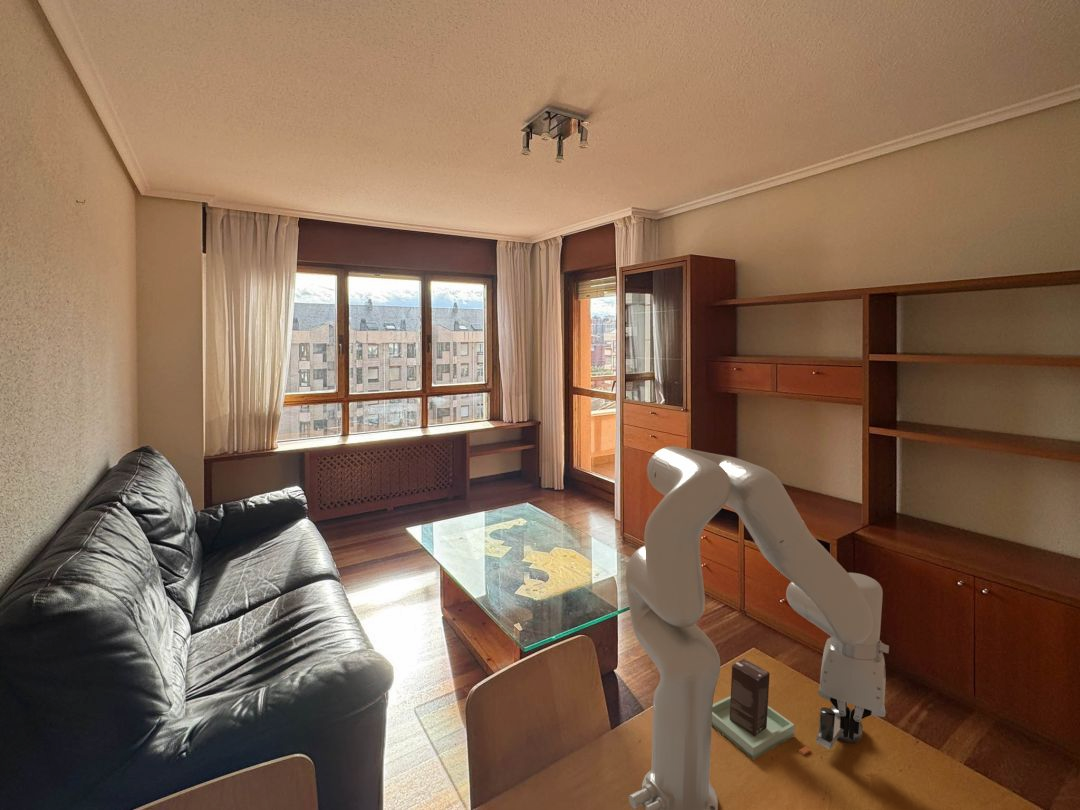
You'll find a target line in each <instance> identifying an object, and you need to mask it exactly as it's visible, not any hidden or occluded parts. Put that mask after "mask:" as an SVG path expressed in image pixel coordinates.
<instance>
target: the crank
mask: <svg viewBox="0 0 1080 810" xmlns="http://www.w3.org/2000/svg"><path fill="white" fill-rule="evenodd" d="M847 707H848V706H847ZM829 708H831V709H829ZM848 708H849V710H850V716H851V711H852V710H853V709H851V708H850V707H848ZM849 726H850V724H849ZM843 730H844V729H841V728H840V715H839V712H838V710H837V709H836V708H835V706H834V705H833V704H832V705H831V707H825V706H824V707H821V708H820V712H819V726H818V732H817V733H818V734H817V735H816V740H815V741H816V744H818V745H820V746H821V747H824V748H826V749H828V750H829V751H830V750H831V749H832V747H833V746H834V745H835V743H836V742H837V740H838V737H839V736H840V735H841V733H842V732H843Z"/></svg>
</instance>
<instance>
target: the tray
mask: <svg viewBox="0 0 1080 810" xmlns="http://www.w3.org/2000/svg"><path fill="white" fill-rule="evenodd" d="M730 700H731V695H729V696H727V697H725V698H723V699H720V700H719V701H717V702H715V703H714V702H713V707H712V727H713V728H714V729H716V731H717V732H718V733H720V734H721V735H723V736H724V737H725V738H726V739H727V740H729V741H730V742H731V743H732V744H733V745H734V746H735V747H737V748H738V750H740V751H741V752H743V753H744V754H745V755H746V756H748V757H749V759H751V760H752V761H754V760H755V759H757V758H758V757H761V756H762V755H764V754H766V753H767V752H770V751H771V750H773V749H774V748H776V747H778V746H779V745H781V744H782V743H783V744H784V742H786V741H788V740H790V739H792V738H793V737H794V736H795V724H794V723H793V722H792V721H790V720H789V719H788V718H786V717H785V716H783V715H782V714H780V713H779V712H778V711H776V710H775V709H773V708H772V707H770V706H769V705H768V711H767V728H766V729H765V730H763V731H762V732H761V733H760V734H758V735H757V736H754V735H752V734H751V733H749V732H748V731H746V730H745V729H743V728H742V727H740V726H739V725H737V724H736V723H734V722H733V721H731V720H730Z"/></svg>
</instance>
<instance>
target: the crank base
mask: <svg viewBox="0 0 1080 810" xmlns="http://www.w3.org/2000/svg"><path fill="white" fill-rule="evenodd" d="M828 708H829V709H831V708H832V707H828ZM843 736H844V730H843V732H842V733H841V735H840V736H839V737H838V739H837V740H839V741H841V742H844V743H851V744H853V743H858V742H860V741H861V740H862V737H863V723H862V720H861V721H860V722H859V733H858V734H855V733H854V738H853V740H851V739H850V738H849V734H848V737H847V738H846V737H843ZM810 752H811V748H809V747H808V746H807V745H805V746H803V747H802V748H800V749H798V753H800V754H801V755H803V756H806V755H807V754H809V753H810Z"/></svg>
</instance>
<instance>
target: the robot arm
mask: <svg viewBox="0 0 1080 810" xmlns="http://www.w3.org/2000/svg"><path fill="white" fill-rule="evenodd" d="M646 473H647V479H648V481H649V483H650V484H651V486H652V488H654V490H656V491H657V492H658V493H660V494H661V495H663V498H662V499H661V500H660V501H659V503H658V504H657V505H656V507H655V508H654V509H653V511H652V512H651V514H650V515H649V516H648V519H647V521H646V523H645V527H644V533H643V539H644V540H643V541H644V545H642V546H640V547H639V548H638V549H636V550H635V551H634V552H633V553H632V555H631V556H630V558H629V560H628V563H627V565H626V570H625V571H626V572H625V585H626V591H627V599H628V605H629V606H628V607H629V613H630V619H631V625H632V629H633V633H634V635H635V638H636V640H637V641H638V643H639V644H640V646H641V648H642V649H643V650H644V651H645V653H646V654H647V655H648V656H649V658H650V659H651V661H652V663H653V664H654V665H655V666H656V668H657V671H658V673H659V683H658V685H657V686H656V687H655V689H654V694H653V698H652V699H653V700H652V701H653V702H652V737H651V739H652V741H651V742H652V743H651V769H650V770H649V771H647V773H646V774H645V776H644V777H643V779H642V782H641V783H642V784H641V789H640V790H637V791H635V792H632V793H631V794H629V795H628V802H629V804H630V805H629V806H631V808H632V809H634V810H636V809H638V808H639V807H642V806H643V805H644V807H645V809H644V810H719V801H718V800H719V799H718V796H717V792H716V790H715V788H714V787H713V785H712V783H711V782H710V773H711V771H710V770H711V748H712V746H711V745H712V727H713V726H712V707H713V704H714V697H715V692H716V691H715V690H716V687H717V685H718V679H719V676H720V673H721V659H720V655H719V652H718V650H717V648H716V646H715V644H714V643H713V642H712V640H711V639H710V638H709V637H708V636H707V634H706V633H705V632H704V631H703V630H702V628H700V627H699V626H698V625H697V624H696V623H698V622H699V621H700V619H701V618H702V616H703V613H704V610H705V601H706V595H705V586H704V578H703V568H702V560H701V548H700V547H701V546H700V545H701V536H702V533H703V531H704V529H705V528H706V527H707V524H709V522H710V521H711V520H712V519H713V518H714V517H715V516H716V515H717V514H718V513H719V512H720V511H721V510H722V508H723V507H724V506H727V507H728V508H730V509H732V510H733V511H734V512H735V513H736V514H737V515H738V517H739V518H740V521H741V522H742V524H743V525H744V526H745V528H746V530H747V532H748V533H749V535H750V536H751V538H752V540H753V541H754V542H755V545H756V546H757V548H758V549H759V551H760V553H761V555H762V556H763V557H764V558H765V559H766V561H768V562H769V564H770V565H771V566H772V567H774V569H775V570H777V571H778V572H779V573H780V574H782V575H783V576H784V577H785V578H786V579H788V580H789V581H790V583H789V584H788V586H787V588H786V591H785V592H786V593H785V597H786V600H787V603H788V604H789V606H790V607H791V608H792V610H793V611H794V612H796V613H797V614H798V615H800V616H801V617H802V618H804V619H806V620H807V621H808V622H810V623H811V624H813V625H815V627H817V628H819V629H820V630H821V631H822V632H824V633H826V634H827V635H829V636H830V637H828V638H827V639H826V642H825V645H824V648H823V652H822V653H823V655H822V659H821V668H820V678H819V688H818V691H817V694H818V697H821V698H823V699H824V700H826V701H829V702H830V703H831V704H832V705H834V706H835V708H836V709H837V710H838V712H839V715H840V728H841V729H844V736H843V737H846V738H847V737H848V734H849V738H850V739H851V740H853V738H854V733H855V734H858V733H859V722H860V721H861V722H862V720H863V719H865V718H868V717H870V716H873V717H881V718H885V717H886V708H885V707H886V706H885V699H886V682H887V681H886V680H887V679H886V673H887V672H886V663H885V662H886V661H885V656H884V653H886V654H889V651H890V645H887V644H885V643H884V642H882V640H880V638H881V637H880V636H881V625H882V623H881V622H882V612H883V611H882V609H883V608H882V607H883V594H884V593H883V592H884V591H883V587H882V586H881V584H880V583H879V582H878V581H877V580H876V579H875V578H872V577H870V576H868V575H866V574H862V573H857V572H848V571H846V569H845V568H843V566H842V565H841V564H840V563H839V562H838V561H837V560H836V559H835V557H834V556H832V554H831V553H830V552H829V551H828V550H827V549H826V548H825V547H824V545H822V544H821V543H820V542H819V541H818V540H817V539H816V537H814V535H813V534H812V533H811V532H810V530H809V529H808V527H807V525H806V523H805V521H804V520H803V518H802V517H801V514H800V513H799V511H798V509H797V507H796V506H795V504H794V503H793V500H792V498H791V497H790V495H789V494H788V492H787V490H786V488H785V487H784V485H783V484H782V482H781V480H780V479H779V478H778V476H776V475H775V473H773V472H772V471H770V470H769V469H768V468H765V467H763V466H761V465H757V464H754V463H752V462H749V461H746V460H743V459H741V458H738V457H734V456H730V455H723V454H717V453H711V452H708V451H702V450H696V449H691V448H686V447H682V446H676V445H674V446H665V447H662V448H660V449H658V450H657V451H655V452H654V454H652V455H651V457H650V458H649V460H648V464H647V468H646ZM848 704H849V705H853V706H854V708H853V709H851V710H852V711H851V716H850V710H849V708H850V707H849V708H848ZM849 724H850V726H849Z"/></svg>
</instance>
